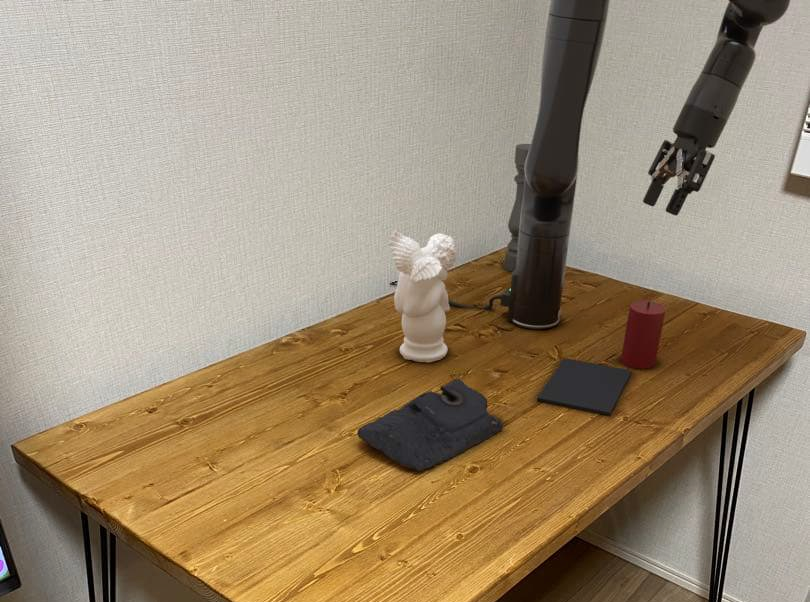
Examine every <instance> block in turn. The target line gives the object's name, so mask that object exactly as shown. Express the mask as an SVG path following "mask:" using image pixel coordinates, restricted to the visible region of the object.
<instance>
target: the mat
mask: <svg viewBox="0 0 810 602" xmlns="http://www.w3.org/2000/svg"><path fill="white" fill-rule="evenodd" d="M632 373H633V371H632V370H630V369H624V368H619V367H614V366H608V365H603V364H599V363H593V362H588V361H582V360H577V359H573V358H572V359H571V358H567V357H564V358H563V359H562V361H561V362H560V364H559V366H558V367H557V368H556V370H555V371H554V373H553V374H552V376H550V378H549V380H548V381H547V382H546V384H545V385H544V387H543V388H542V390H541V392H539V395H538V396H537V399H536V401H537V402H541V403H546V404H550V405H556V406H560V407H564V408H565V407H566V408H570V409H575V410H579V411H584V412H588V413H589V412H590V413H594V414H600V415H605V416H611V414H612V412H613V411H614V409H615V407H616V404H617V402H618V401H619V399H620V397H621V395H622V393H623V391H624V389H625V387H626V385H627V383H628V381H629V379H630V378H631V375H632Z"/></svg>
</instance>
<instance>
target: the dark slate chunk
mask: <svg viewBox="0 0 810 602" xmlns="http://www.w3.org/2000/svg"><path fill="white" fill-rule="evenodd" d="M439 390H440V391H442V392H441V393H439V392H435V391H432V390H429V391H428V392H427V391H426V392H423V393H422V394H420V395H418V396H416V397H415V398H413V399H412V400H410V401H409V402H407V403H406V404H404V405H403V406H402V407H401V408H399V409H393V410H391V411H389V412H387V413H385V414H384V415H382V416H379V417H378V418H377V419H376V420H373V421H372V422H368V423H366V424H363V425H362V426H361V427H359V428H358V429H357V437H358V438H359V439H361V440H362V441H364V442H365V443H367V444H368V445H369V446H371V447H373V449H376V450H378V451H379V452H381V453H383V454H384V455H385V456H386V457H387V458H389V459H390V460H391V461H394V462H395V463H396V464H399V465H401V466H402V467H404V468H408V469H410V470H414V471H417V472H422V471H423V470H427V469H429V468H432V467H434V468H435V467H436V466H437V465H441V464H442V463H444V462H447V461H448V460H451V459H453V458H455V457H456V456H459V455H461V454H463V453H465V452H466V451H468V450H470V449H471V448H473V447H475V446H476V445H480V444H481V443H482V442H483V441H486V440H487V439H490V438H491V437H493V436H495V434H497V433H499V432H500V431H502V429H503V427H504V425H503V424H502V419H500V418H496V417H495V416H494V415H491V414H489V413H488V410H487V409H488V399H487V397H486V396H484V394H482V392H479V391H477V390H475V389H473V388H472V387H470V386H468V385H467V384H466V383H465V382H464V381H463V380H462V379H459V378H455V379H453V380H452V381H450V382H448V383H446V384H444V385H441V386H440V389H439Z"/></svg>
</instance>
